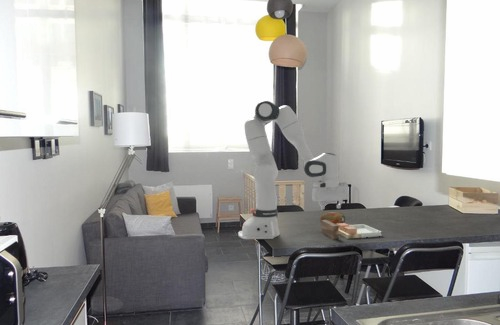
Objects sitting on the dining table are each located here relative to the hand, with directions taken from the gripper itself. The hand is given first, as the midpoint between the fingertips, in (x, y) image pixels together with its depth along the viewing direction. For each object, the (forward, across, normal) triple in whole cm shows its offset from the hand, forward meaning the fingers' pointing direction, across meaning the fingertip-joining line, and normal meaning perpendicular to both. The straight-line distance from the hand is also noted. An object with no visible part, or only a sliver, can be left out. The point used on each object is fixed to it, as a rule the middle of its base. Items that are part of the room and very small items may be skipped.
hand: (330, 208), depth 190 cm
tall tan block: (+15, +1, 0) cm, 15 cm away
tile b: (+13, -9, +4) cm, 16 cm away
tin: (+15, -10, -18) cm, 26 cm away
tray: (+15, -19, 0) cm, 24 cm away
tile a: (+13, -9, -4) cm, 16 cm away
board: (+15, -9, 0) cm, 17 cm away
